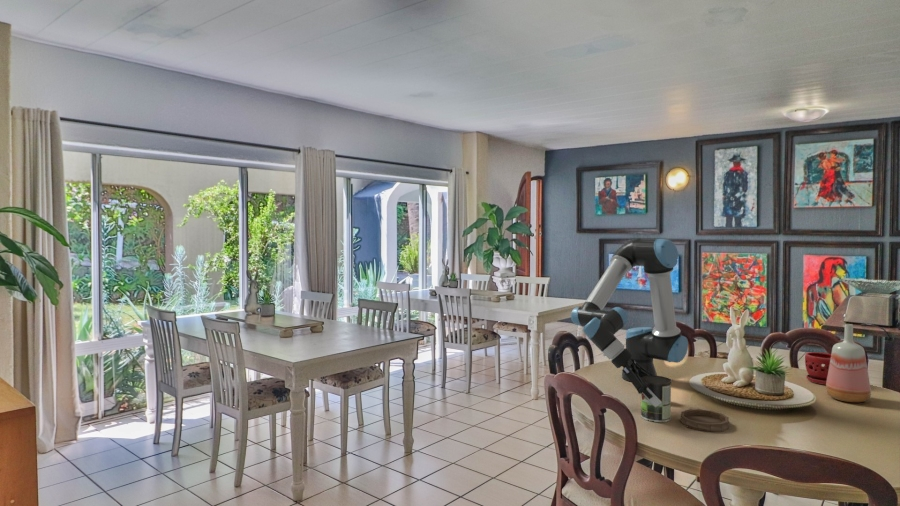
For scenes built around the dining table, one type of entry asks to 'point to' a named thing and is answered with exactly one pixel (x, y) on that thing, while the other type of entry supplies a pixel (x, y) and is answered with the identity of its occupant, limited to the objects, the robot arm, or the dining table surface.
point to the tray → (704, 420)
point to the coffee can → (663, 393)
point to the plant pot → (817, 367)
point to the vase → (848, 371)
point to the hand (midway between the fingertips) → (660, 399)
